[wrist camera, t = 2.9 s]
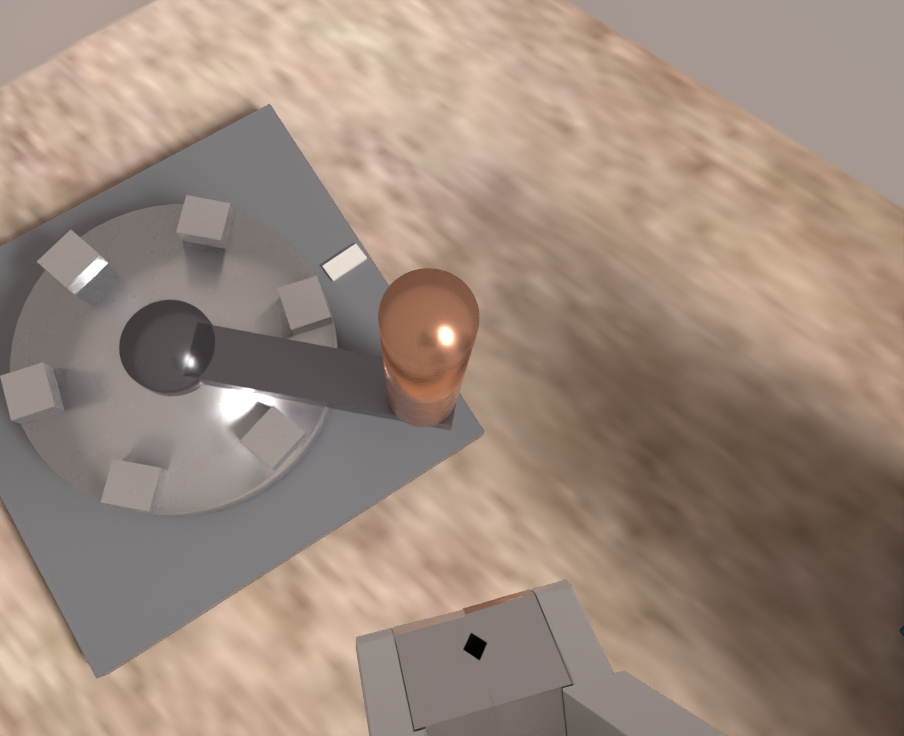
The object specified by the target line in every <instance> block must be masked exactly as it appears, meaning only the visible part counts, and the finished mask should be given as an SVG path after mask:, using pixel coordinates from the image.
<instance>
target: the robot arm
mask: <svg viewBox="0 0 904 736" xmlns="http://www.w3.org/2000/svg"><path fill="white" fill-rule="evenodd" d="M393 629H394V631H393ZM356 652H357V659H358V665H359V671H360V678H361V684H362V691H363V697H364V704H365V710H366V717H367V723H368V729H369V736H727V735H725V734H724V733H722V732H720V731H719V730H717V729H716V728H714V727H712V726H711V725H709V724H708V723H706V722H705V721H703V720H701V719H700V718H698V717H697V716H695V715H694V714H692V713H690V712H689V711H687V710H686V709H684V708H683V707H681V706H679V705H678V704H676V703H675V702H673V701H672V700H670V699H668V698H667V697H665V696H664V695H662V694H661V693H659V692H657V691H656V690H654V689H653V688H651V687H649V686H648V685H646V684H645V683H643V682H642V681H640V680H638V679H637V678H635V677H634V676H632V675H631V674H629V673H627V672H626V671H621V672H617V673H614V672H613V670H612V668H611V666H610V664H609V662H608V660H607V658H606V655H605V653H604V651H603V649H602V647H601V645H600V643H599V641H598V639H597V637H596V635H595V633H594V630H593V628H592V626H591V624H590V622H589V620H588V618H587V616H586V614H585V612H584V610H583V608H582V605H581V603H580V601H579V599H578V597H577V595H576V593H575V591H574V589H573V587H572V585H571V584H570V583H569V582H568V581H567V580H563V581H560V582H556V583H552V584H549V585H545V586H542V587H538V588H534V589H532V591H531V590H530V589H529V590H526V591H522V592H519V593H515V594H512V595H508V596H505V597H501V598H498V599H495V600H491V601H488V602H484V603H481V604H477V605H474V606H470V607H467V608H463V610H460V611H456V612H452V613H448V614H444V615H440V616H436V617H432V618H428V619H424V620H420V621H416V622H412V623H408V624H404V625H400V626H396V627H393V628H390V629H386V630H382V631H378V632H374V633H370V634H366V635H362V636H359V637H356Z"/></svg>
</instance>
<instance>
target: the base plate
mask: <svg viewBox="0 0 904 736" xmlns="http://www.w3.org/2000/svg"><path fill="white" fill-rule="evenodd" d="M186 195H189V196H195V197H200V198H205V199H211V200H216V201H221V202H226V203H231V205H232V207H233V209H234V211H235V212H236V213H239V214H241V215H244V216H246V217H249V218H252V219H253V220H255V221H257V222H259V223H261V224H263V225H264V226H266V227H268V228H270V229H271V230H272V231H274V232H275V233H277V234H278V235H279V236H281V237H282V238H283V239H285V240H286V241H287V242H288V243H289V244H290V245H291V246H292V247H293V248H294V249H295V250H296V251H297V252H298V253H299V254H300V255H301V256H302V258H303V259H304V260H305V261H306V263H307V264H308V265H309V266H310V268H311V269H312V271H313V273H314V274H315V276H317V278H318V281H319V283H320V284H321V287H322V289H323V291H324V294H325V296H326V299H327V301H328V304H329V307H330V310H331V314H332V317H333V321H334V324H335V328H336V332H337V336H338V343H339V349H343V350H349V351H354V352H359V353H365V354H370V355H376V356H381V357H383V356H382V348H381V339H380V331H379V322H378V311H379V305H380V302H381V299H382V297H383V295H384V293H385V291H386V290H387V289H388V287H389V285H388V283H387V282H386V280H385V279H384V277H383V276H382V274H381V273H380V271H379V270H378V268H377V267H376V265H375V264H374V262H373V260H372V259H371V257H370V256H369V254H368V253H367V251H366V250H365V248H364V247H363V245H362V244H361V242H360V241H359V239H358V238H357V236H356V235H355V233H354V231H353V230H352V228H351V227H350V225H349V224H348V222H347V221H346V219H345V218H344V216H343V215H342V213H341V212H340V210H339V209H338V207H337V206H336V204H335V202H334V201H333V199H332V198H331V196H330V195H329V193H328V192H327V190H326V189H325V187H324V186H323V184H322V183H321V181H320V180H319V178H318V177H317V175H316V173H315V172H314V170H313V169H312V167H311V166H310V164H309V163H308V161H307V160H306V158H305V157H304V155H303V154H302V152H301V151H300V149H299V148H298V146H297V144H296V143H295V141H294V140H293V138H292V137H291V135H290V134H289V132H288V131H287V129H286V128H285V126H284V125H283V123H282V122H281V120H280V119H279V117H278V115H277V114H276V112H275V111H274V109H273V108H272V106H271V105H270V104H268V105H267V106H265V107H263V108H261V109H259V110H257V111H255V112H253V113H251V114H249V115H248V116H246V117H244V118H242V119H240V120H238V121H236V122H234V123H232V124H231V125H229V126H227V127H225V128H223V129H221V130H219V131H217V132H215V133H213V134H212V135H210V136H208V137H206V138H204V139H202V140H200V141H198V142H196V143H195V144H193V145H191V146H189V147H187V148H185V149H183V150H181V151H179V152H178V153H176V154H174V155H172V156H170V157H168V158H166V159H164V160H162V161H160V162H159V163H157V164H155V165H153V166H151V167H149V168H147V169H145V170H143V171H142V172H140V173H138V174H136V175H134V176H132V177H130V178H128V179H126V180H125V181H123V182H121V183H119V184H117V185H115V186H113V187H111V188H109V189H107V190H106V191H104V192H102V193H100V194H98V195H96V196H94V197H92V198H90V199H89V200H87V201H85V202H83V203H81V204H79V205H77V206H75V207H73V208H72V209H70V210H68V211H66V212H64V213H62V214H60V215H58V216H56V217H54V218H53V219H51V220H49V221H47V222H45V223H43V224H41V225H39V226H37V227H36V228H34V229H32V230H30V231H28V232H26V233H24V234H22V235H20V236H19V237H17V238H15V239H13V240H11V241H9V242H7V243H5V244H3V245H1V246H0V376H1V375H4V374H8V373H10V358H11V349H12V341H13V337H14V333H15V329H16V325H17V321H18V319H19V316H20V314H21V311H22V309H23V306H24V304H25V302H26V300H27V298H28V296H29V294H30V293H31V291H32V289H33V287H34V285H35V284H36V282H37V281H38V280H39V278H40V277H41V276H42V274H43V273H44V271H45V269H44V268H43V267H42V266H41V265H40V264H39V263H37V261H38V260H39V259H40V258H41V257H42V256H43V255H44V254H45V253H46V252H47V251H48V250H49V249H51V248H52V247H53V246H54V245H55V244H56V243H57V242H58V241H59V240H60V239H61V238H62V237H63V236H64V235H65V234H66V233H67V232H69V231H70V230H72V231H73V232H74V233H76V234H77V235H78V236H79V237H81V236H83V235H84V234H86V233H87V232H89V231H90V230H92V229H93V228H95V227H97V226H99V225H101V224H103V223H105V222H107V221H109V220H111V219H113V218H115V217H118V216H121V215H124V214H126V213H129V212H132V211H135V210H140V209H144V208H148V207H152V206H160V205H169V204H184V202H185V198H186ZM483 433H484V430H483V428H482V427H481V425H480V424H479V422H478V421H477V419H476V418H475V416H474V415H473V413H472V412H471V410H470V409H469V407H468V405H467V404H466V402H465V401H464V399H463V398H462V396H461V395H460V393H459V394H458V398H457V401H456V407H455V412H454V418H453V423H452V428H451V431H450V430H445V429H440V428H434V427H429V426H428V427H416V426H412V425H409V424H407V423H405V422H402V421H397V420H391V419H386V418H381V417H375V416H370V415H364V414H359V413H354V412H348V411H343V410H338V409H332V411H331V414H330V416H329V418H328V421H327V423H326V425H325V427H324V430H323V431H322V433H321V435H320V436H319V438H318V440H317V441H316V443H315V445H314V446H313V448H312V449H311V450H310V451H309V453H308V454H307V455H306V456H305V458H304V459H303V460H302V461H301V463H300V464H299V465H298V466H297V467H296V468H295V469H294V470H292V471H291V472H290V473H289V474H288V475H287V476H286V477H285V478H284V479H282V480H281V481H280V482H279V483H277V484H276V485H275V486H273V487H272V488H271V489H269V490H268V491H266V492H264V493H262V494H261V495H259V496H257V497H255V498H254V499H252V500H250V501H247V502H245V503H243V504H240V505H238V506H235V507H233V508H230V509H226V510H223V511H219V512H216V513H212V514H205V515H198V516H192V517H168V516H159V515H151V514H145V513H140V512H135V511H131V510H127V509H123V508H119V507H115V506H111V505H109V504H106V503H101V501H99V500H96V499H94V498H91V497H90V496H88V495H86V494H84V493H83V492H81V491H79V490H78V489H76V488H74V487H72V486H71V485H70V484H69V483H67V482H66V481H65V480H64V479H62V478H61V477H60V476H59V475H57V474H56V473H55V472H54V471H53V470H52V469H51V468H50V467H49V466H48V464H47V463H46V462H45V461H44V460H43V459H42V458H41V457H40V455H39V454H38V452H37V451H36V449H35V448H34V447H33V445H32V444H31V442H30V441H29V439H28V437H27V435H26V433H25V431H24V429H23V427H22V425H21V424H19V423H17V422H14V421H11V418H10V414H9V410H8V406H7V402H6V398H5V394H4V390H3V386H2V382H1V378H0V497H1V499H2V501H3V503H4V505H5V506H6V508H7V510H8V512H9V514H10V516H11V518H12V520H13V522H14V523H15V525H16V527H17V529H18V531H19V533H20V535H21V537H22V539H23V540H24V542H25V544H26V546H27V548H28V550H29V552H30V554H31V556H32V557H33V559H34V561H35V563H36V565H37V567H38V569H39V571H40V573H41V575H42V576H43V578H44V580H45V582H46V584H47V586H48V588H49V590H50V592H51V593H52V595H53V597H54V599H55V601H56V603H57V605H58V607H59V609H60V610H61V612H62V614H63V616H64V618H65V620H66V622H67V624H68V626H69V627H70V629H71V631H72V633H73V635H74V637H75V639H76V641H77V643H78V644H79V646H80V648H81V650H82V652H83V654H84V656H85V658H86V660H87V661H88V663H89V665H90V667H91V669H92V671H93V673H94V675H95V677H96V678H99V677H102V676H105V675H107V674H110V673H111V672H113V671H114V670H116V669H117V668H119V667H121V666H122V665H124V664H125V663H127V662H128V661H130V660H131V659H133V658H135V657H136V656H138V655H139V654H141V653H142V652H144V651H146V650H147V649H149V648H150V647H152V646H153V645H155V644H157V643H158V642H160V641H161V640H163V639H164V638H166V637H168V636H169V635H171V634H172V633H174V632H175V631H177V630H179V629H180V628H182V627H183V626H185V625H186V624H188V623H190V622H191V621H193V620H194V619H196V618H197V617H199V616H201V615H202V614H204V613H205V612H207V611H208V610H210V609H211V608H213V607H215V606H216V605H218V604H219V603H221V602H222V601H224V600H226V599H227V598H229V597H230V596H232V595H233V594H235V593H237V592H238V591H240V590H241V589H243V588H244V587H246V586H248V585H249V584H251V583H252V582H254V581H255V580H257V579H259V578H260V577H262V576H263V575H265V574H266V573H268V572H270V571H271V570H273V569H274V568H276V567H277V566H279V565H281V564H282V563H284V562H285V561H287V560H288V559H290V558H291V557H293V556H295V555H296V554H298V553H299V552H301V551H302V550H304V549H306V548H307V547H309V546H310V545H312V544H313V543H315V542H317V541H318V540H320V539H321V538H323V537H324V536H326V535H328V534H329V533H331V532H332V531H334V530H335V529H337V528H339V527H340V526H342V525H343V524H345V523H346V522H348V521H350V520H351V519H353V518H354V517H356V516H357V515H359V514H361V513H362V512H364V511H365V510H367V509H368V508H370V507H371V506H373V505H375V504H376V503H378V502H379V501H381V500H382V499H384V498H386V497H387V496H389V495H390V494H392V493H393V492H395V491H397V490H398V489H400V488H401V487H403V486H404V485H406V484H408V483H409V482H411V481H412V480H414V479H415V478H417V477H419V476H420V475H422V474H423V473H425V472H426V471H428V470H430V469H431V468H433V467H434V466H436V465H437V464H439V463H441V462H442V461H444V460H445V459H447V458H448V457H450V456H452V455H453V454H455V453H456V452H458V451H459V450H461V449H462V448H464V447H466V446H467V445H469V444H470V443H472V442H473V441H475V440H477V439H478V438H480V437H481V436H482V435H483Z"/></svg>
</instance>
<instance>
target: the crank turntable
mask: <svg viewBox="0 0 904 736" xmlns="http://www.w3.org/2000/svg"><path fill="white" fill-rule="evenodd" d="M37 263H39V264H40V265H41V266H42V267H43V268H44V269H45V271H44V273H43V274H42V276H41V277H40V278H39V280H38V281H37V282H36V284H35V285H34V287H33V289H32V291H31V293H30V294H29V296H28V298H27V300H26V302H25V304H24V306H23V309H22V311H21V314H20V316H19V319H18V321H17V325H16V329H15V333H14V337H13V341H12V349H11V358H10V373H8V374H4V375H1V376H0V378H1V382H2V386H3V390H4V394H5V398H6V402H7V406H8V410H9V414H10V418H11V421H14V422H17V423H19V424H21V425H22V427H23V429H24V431H25V433H26V435H27V437H28V439H29V441H30V442H31V444H32V445H33V447H34V448H35V449H36V451H37V452H38V454H39V455H40V457H41V458H42V459H43V460H44V461H45V462H46V463H47V464H48V466H49V467H50V468H51V469H52V470H53V471H54V472H55V473H56V474H57V475H59V476H60V477H61V478H62V479H64V480H65V481H66V482H67V483H69V484H70V485H71V486H72V487H74V488H76V489H78V490H79V491H81V492H83V493H84V494H86V495H88V496H90V497H91V498H94V499H96V500H99V501H101V503H106V504H109V505H111V506H115V507H119V508H123V509H127V510H131V511H135V512H140V513H145V514H151V515H159V516H168V517H192V516H198V515H205V514H212V513H216V512H219V511H223V510H226V509H230V508H233V507H235V506H238V505H240V504H243V503H245V502H247V501H250V500H252V499H254V498H255V497H257V496H259V495H261V494H262V493H264V492H266V491H268V490H269V489H271V488H272V487H273V486H275V485H276V484H277V483H279V482H280V481H281V480H282V479H284V478H285V477H286V476H287V475H288V474H289V473H290V472H291V471H292V470H294V469H295V468H296V467H297V466H298V465H299V464H300V463H301V461H302V460H303V459H304V458H305V456H306V455H307V454H308V453H309V451H310V450H311V449H312V448H313V446H314V445H315V443H316V441H317V440H318V438H319V436H320V435H321V433H322V431H323V430H324V427H325V425H326V423H327V421H328V418H329V416H330V414H331V411H332V409H338V410H343V411H348V412H354V413H359V414H364V415H370V416H375V417H381V418H386V419H391V420H397V421H402V422H405V423H407V424H409V425H412V426H416V427H428V426H429V427H434V428H440V429H445V430H450V431H451V428H452V423H453V418H454V412H455V407H456V401H457V398H458V394H459V391H460V388H461V384H462V381H463V378H464V374H465V371H466V368H467V364H468V361H469V357H470V354H471V351H472V347H473V344H474V341H475V337H476V334H477V330H478V327H479V309H478V304H477V301H476V299H475V297H474V295H473V293H472V291H471V290H470V289H469V287H468V286H467V285H466V284H465V283H464V282H463V281H462V280H461V279H459V278H458V277H456V276H455V275H453V274H451V273H448V272H446V271H443V270H439V269H418V270H414V271H411V272H408V273H406V274H404V275H402V276H400V277H399V278H398V279H396V280H395V281H394V282H393V283H392V284H391V285H390V286H389V287H388V289H387V290H386V291H385V293H384V295H383V297H382V299H381V302H380V305H379V311H378V322H379V331H380V339H381V348H382V356H383V357H381V356H376V355H370V354H365V353H359V352H354V351H349V350H343V349H339V343H338V336H337V332H336V328H335V324H334V321H333V317H332V314H331V310H330V307H329V304H328V301H327V299H326V296H325V294H324V291H323V289H322V287H321V284H320V283H319V281H318V278H317V276H315V274H314V273H313V271H312V269H311V268H310V266H309V265H308V264H307V263H306V261H305V260H304V259H303V258H302V256H301V255H300V254H299V253H298V252H297V251H296V250H295V249H294V248H293V247H292V246H291V245H290V244H289V243H288V242H287V241H286V240H285V239H283V238H282V237H281V236H279V235H278V234H277V233H275V232H274V231H272V230H271V229H270V228H268V227H266V226H264V225H263V224H261V223H259V222H257V221H255V220H253V219H252V218H249V217H246V216H244V215H241V214H239V213H236V212H235V211H234V209H233V207H232V205H231V203H226V202H221V201H216V200H211V199H205V198H200V197H195V196H189V195H186V198H185V202H184V204H169V205H160V206H152V207H148V208H144V209H140V210H135V211H132V212H129V213H126V214H124V215H121V216H118V217H115V218H113V219H111V220H109V221H107V222H105V223H103V224H101V225H99V226H97V227H95V228H93V229H92V230H90V231H89V232H87V233H86V234H84V235H83V236H81V237H79V236H78V235H77V234H76V233H74V232H73V231H72V230H70V231H69V232H67V233H66V234H65V235H64V236H63V237H62V238H61V239H60V240H59V241H58V242H57V243H56V244H55V245H54V246H53V247H52V248H51V249H49V250H48V251H47V252H46V253H45V254H44V255H43V256H42V257H41V258H40V259H39V260H38V261H37Z"/></svg>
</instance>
